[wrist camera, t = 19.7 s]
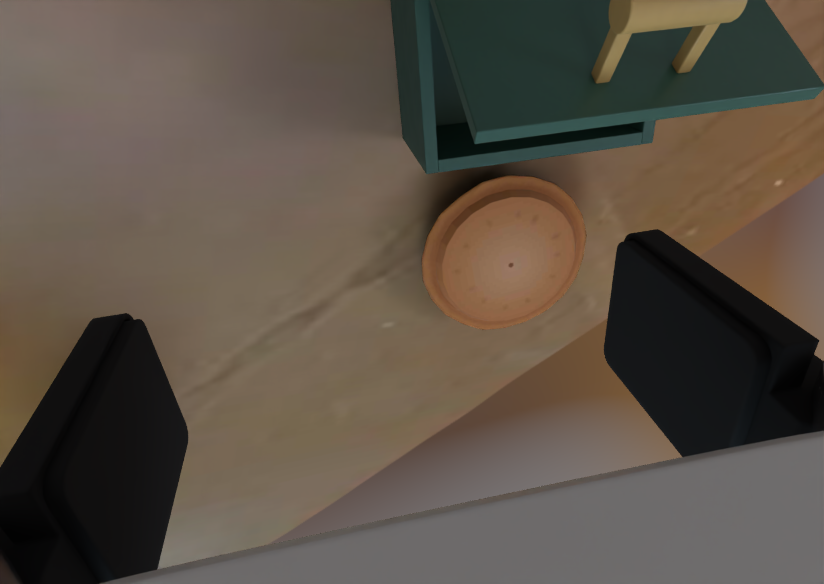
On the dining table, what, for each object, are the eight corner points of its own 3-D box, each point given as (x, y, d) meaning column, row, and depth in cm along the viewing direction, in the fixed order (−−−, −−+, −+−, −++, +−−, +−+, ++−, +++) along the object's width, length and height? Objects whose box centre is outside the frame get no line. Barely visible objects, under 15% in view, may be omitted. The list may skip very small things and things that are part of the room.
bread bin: (589, 114, 47) (652, 142, 39) (402, 138, 45) (426, 174, 37) (606, -75, 40) (688, -90, 32) (385, -56, 38) (409, -66, 30)
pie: (600, 204, 52) (627, 224, 48) (514, 328, 57) (531, 356, 53) (469, 133, 46) (486, 148, 42) (387, 279, 52) (395, 306, 47)
